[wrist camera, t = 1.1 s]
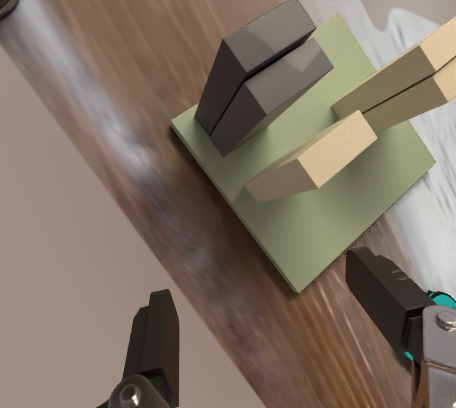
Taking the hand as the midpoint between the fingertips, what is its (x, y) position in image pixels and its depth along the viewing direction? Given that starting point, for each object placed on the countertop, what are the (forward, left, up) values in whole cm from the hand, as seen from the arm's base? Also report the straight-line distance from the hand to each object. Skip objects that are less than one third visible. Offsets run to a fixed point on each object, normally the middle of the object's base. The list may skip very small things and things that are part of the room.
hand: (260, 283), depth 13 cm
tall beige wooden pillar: (-1, +12, -20) cm, 23 cm away
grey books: (-9, +12, -20) cm, 25 cm away
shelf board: (-1, +20, -21) cm, 29 cm away
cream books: (-1, +28, -20) cm, 35 cm away
